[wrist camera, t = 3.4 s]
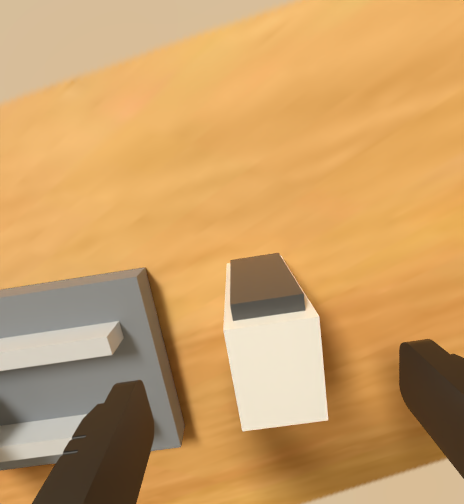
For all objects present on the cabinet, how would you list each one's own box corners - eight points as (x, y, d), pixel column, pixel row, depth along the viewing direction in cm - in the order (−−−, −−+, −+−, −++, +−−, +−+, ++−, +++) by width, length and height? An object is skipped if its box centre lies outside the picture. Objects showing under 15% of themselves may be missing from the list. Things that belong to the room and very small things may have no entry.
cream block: (288, 320, 16) (328, 420, 10) (237, 327, 17) (242, 431, 10) (279, 244, 15) (318, 298, 9) (225, 253, 15) (220, 313, 9)
